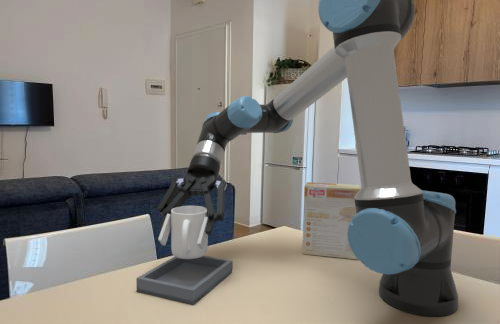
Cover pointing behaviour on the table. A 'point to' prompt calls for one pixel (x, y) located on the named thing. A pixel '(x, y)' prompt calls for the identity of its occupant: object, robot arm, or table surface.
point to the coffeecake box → (328, 219)
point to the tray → (184, 278)
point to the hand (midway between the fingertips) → (180, 244)
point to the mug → (187, 231)
